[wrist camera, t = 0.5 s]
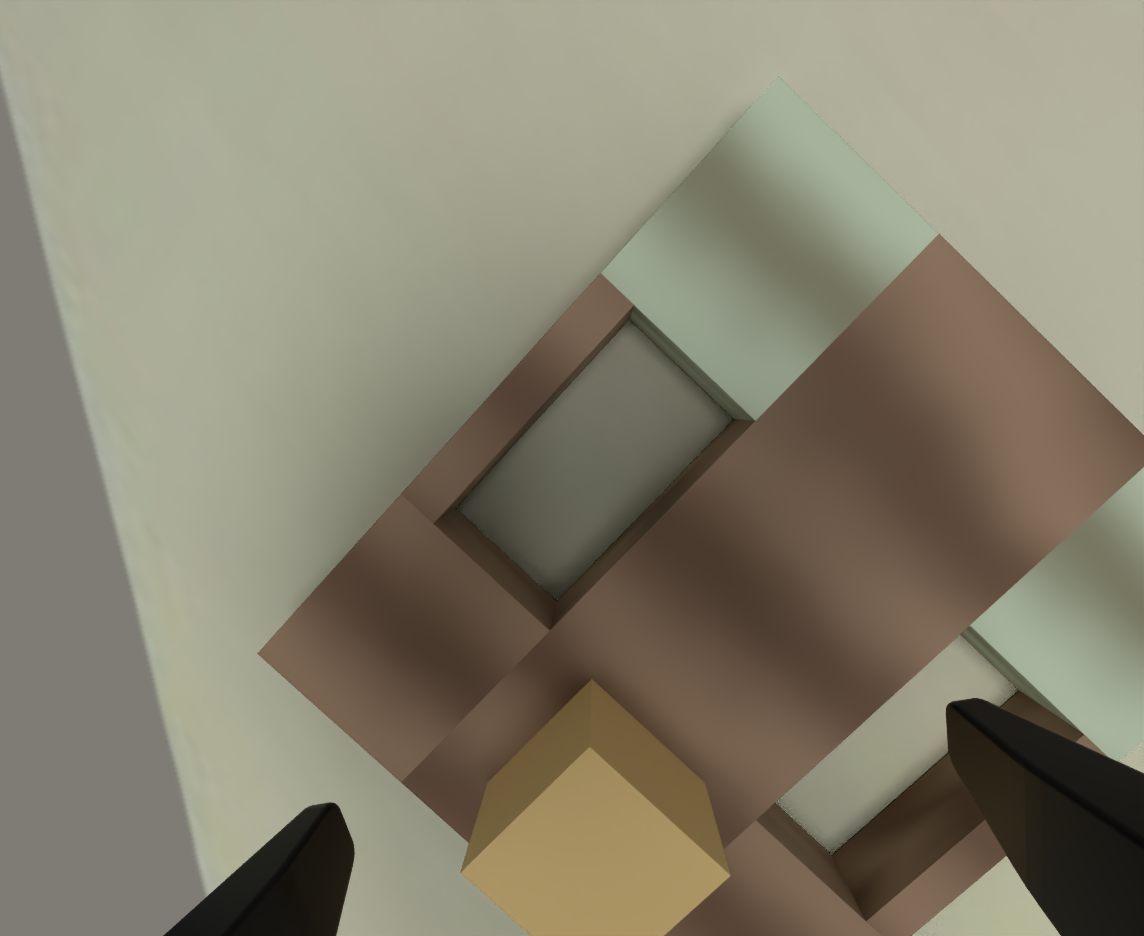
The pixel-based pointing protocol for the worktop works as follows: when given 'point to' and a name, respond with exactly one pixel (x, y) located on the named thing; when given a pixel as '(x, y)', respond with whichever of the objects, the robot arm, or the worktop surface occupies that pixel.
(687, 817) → the ochre block
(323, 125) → the worktop surface
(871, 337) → the trap board
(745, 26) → the worktop surface
